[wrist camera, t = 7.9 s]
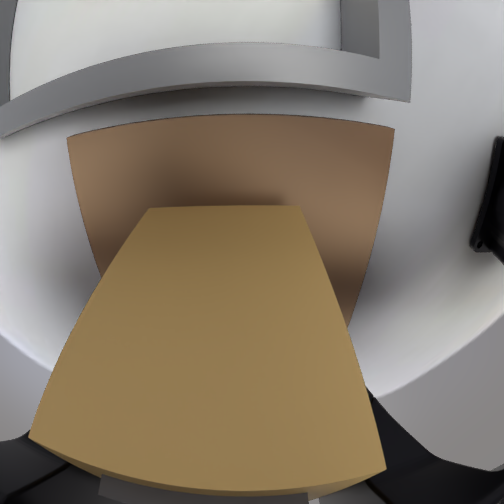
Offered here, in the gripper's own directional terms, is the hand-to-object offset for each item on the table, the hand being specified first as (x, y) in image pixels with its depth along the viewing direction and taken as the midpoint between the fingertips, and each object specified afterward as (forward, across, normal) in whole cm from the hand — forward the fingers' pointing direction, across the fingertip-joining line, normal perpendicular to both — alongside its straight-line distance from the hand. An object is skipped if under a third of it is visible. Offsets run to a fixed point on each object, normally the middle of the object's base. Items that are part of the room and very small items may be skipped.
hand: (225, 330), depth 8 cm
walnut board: (+4, 0, 0) cm, 4 cm away
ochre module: (+2, 0, 0) cm, 2 cm away
